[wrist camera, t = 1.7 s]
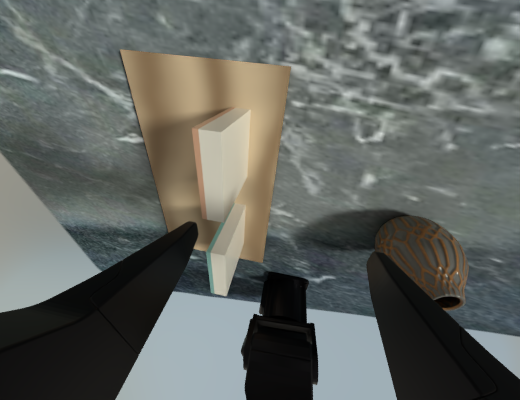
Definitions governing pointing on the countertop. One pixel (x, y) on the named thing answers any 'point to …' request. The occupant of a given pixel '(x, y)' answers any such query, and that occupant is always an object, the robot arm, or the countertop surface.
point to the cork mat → (196, 112)
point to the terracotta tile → (221, 160)
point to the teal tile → (226, 250)
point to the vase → (427, 257)
